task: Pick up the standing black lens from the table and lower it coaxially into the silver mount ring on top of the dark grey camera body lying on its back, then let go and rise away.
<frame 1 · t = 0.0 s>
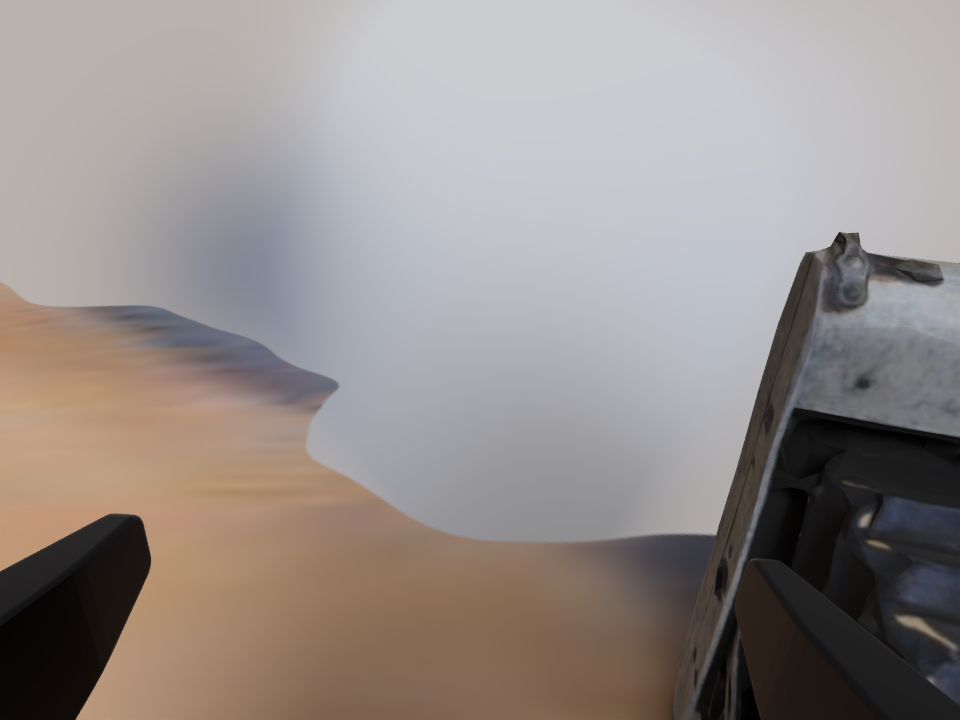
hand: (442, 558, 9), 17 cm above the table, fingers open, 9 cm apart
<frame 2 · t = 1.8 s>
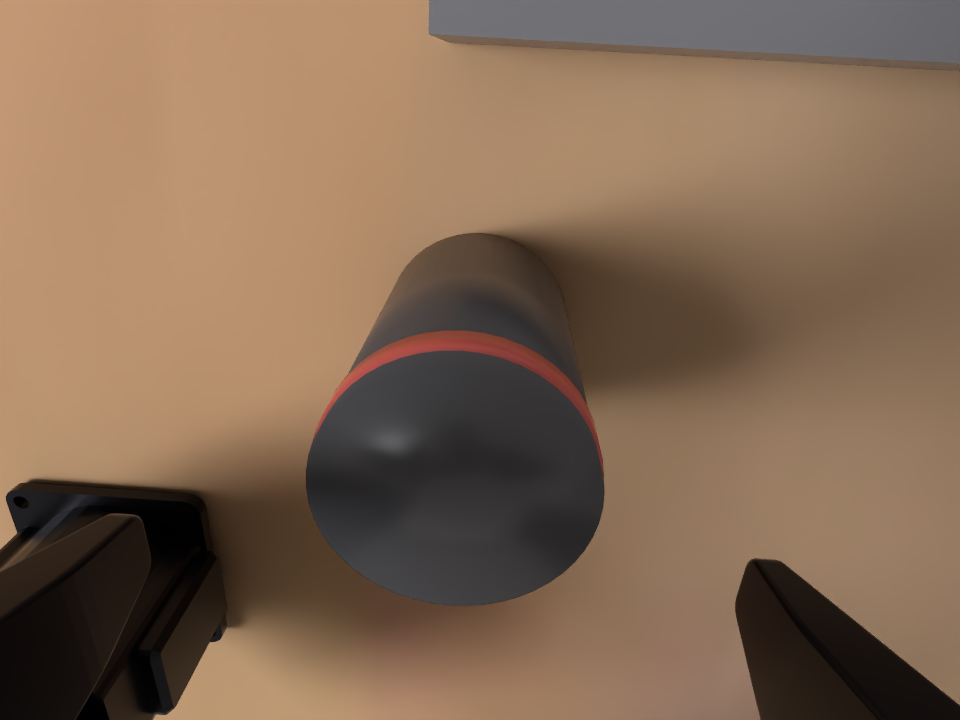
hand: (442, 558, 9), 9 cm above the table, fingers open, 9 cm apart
lens: (477, 320, 18), on the table
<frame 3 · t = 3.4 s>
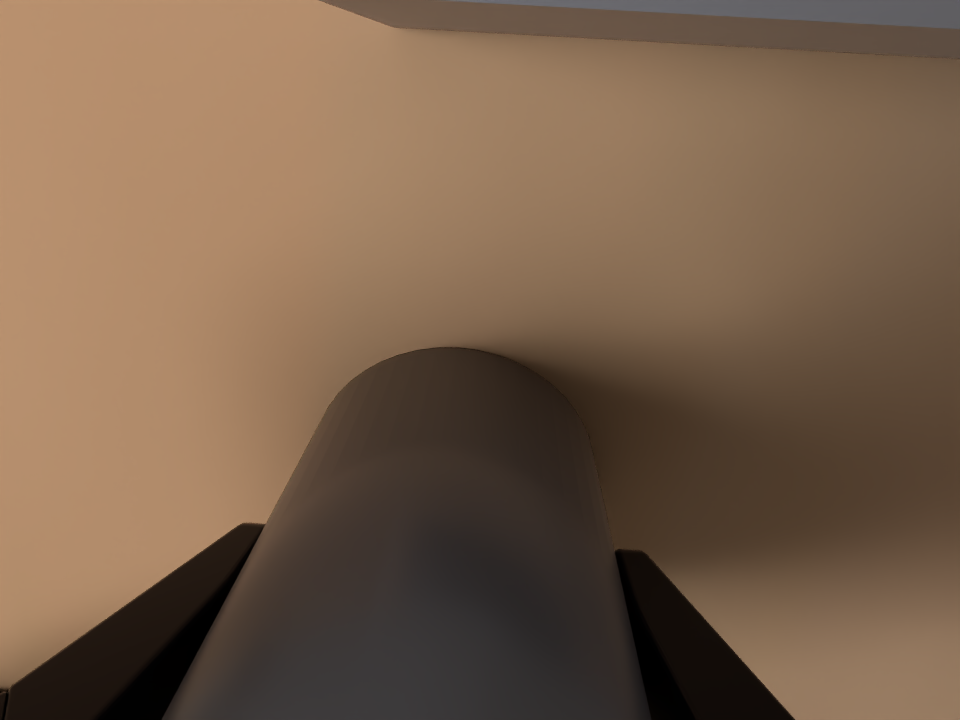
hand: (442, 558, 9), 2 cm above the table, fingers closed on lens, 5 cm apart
lens: (452, 475, 11), on the table, touching gripper
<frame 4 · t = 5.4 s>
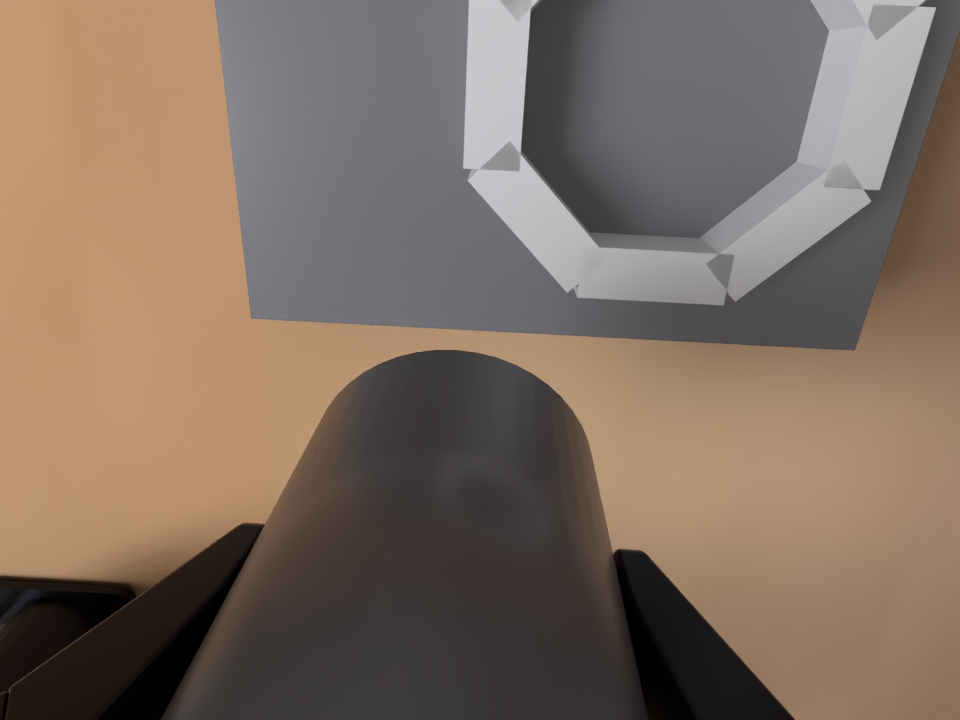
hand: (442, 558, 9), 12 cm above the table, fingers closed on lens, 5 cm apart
camera body: (561, 85, 17), on the table
lens: (451, 477, 11), point 10 cm above the table, touching gripper
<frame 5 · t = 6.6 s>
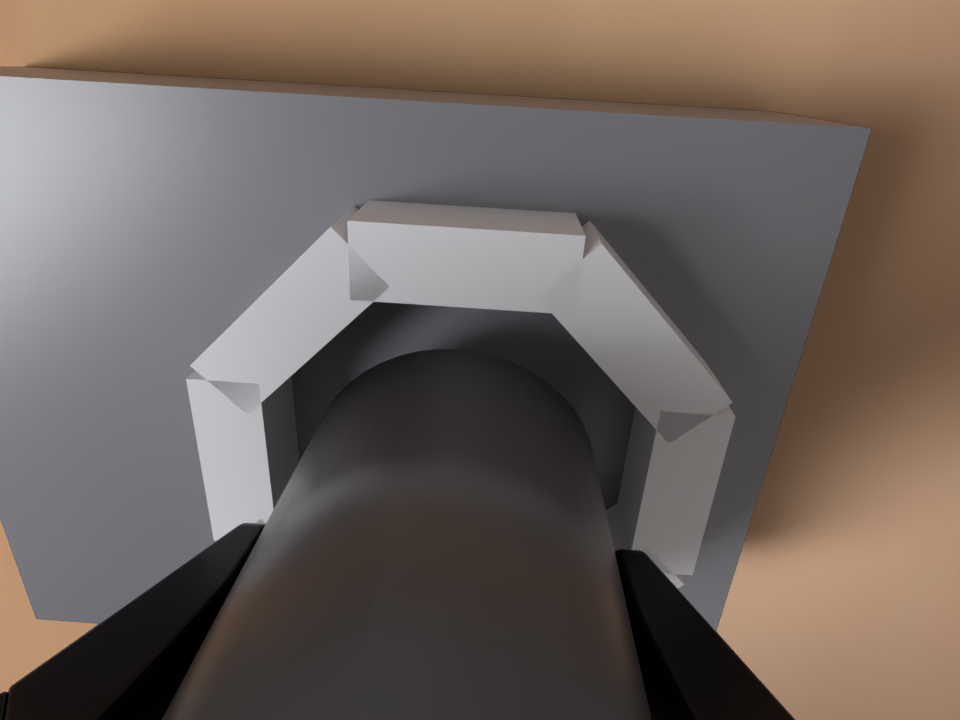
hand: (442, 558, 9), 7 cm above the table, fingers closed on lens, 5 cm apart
camera body: (394, 345, 16), on the table
lens: (452, 477, 11), point 5 cm above the table, touching gripper
when the fingers open (7 cm above the table, at t = 7.4 s): lens stays where it is, resting on camera body.
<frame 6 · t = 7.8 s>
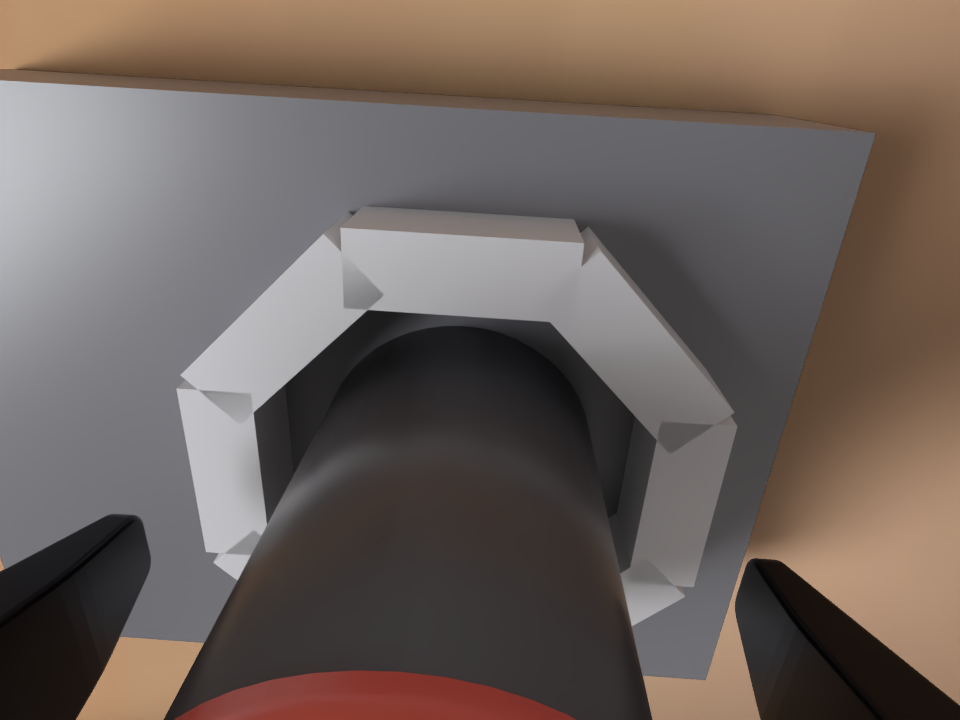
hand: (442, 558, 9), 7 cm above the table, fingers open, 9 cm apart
camera body: (390, 351, 15), on the table
lens: (458, 446, 12), point 4 cm above the table, touching camera body
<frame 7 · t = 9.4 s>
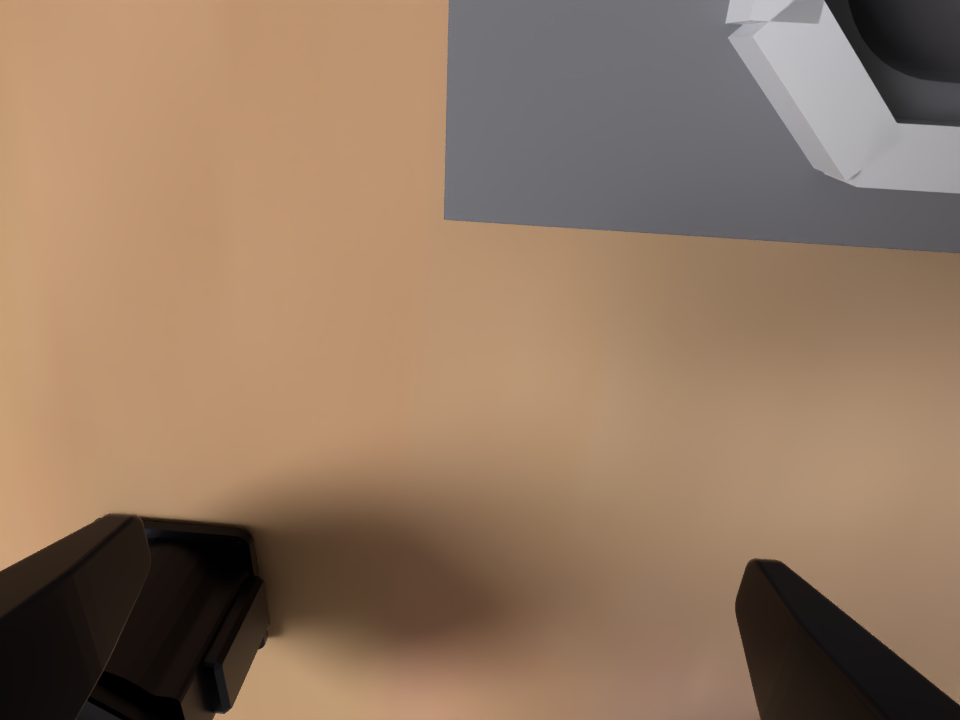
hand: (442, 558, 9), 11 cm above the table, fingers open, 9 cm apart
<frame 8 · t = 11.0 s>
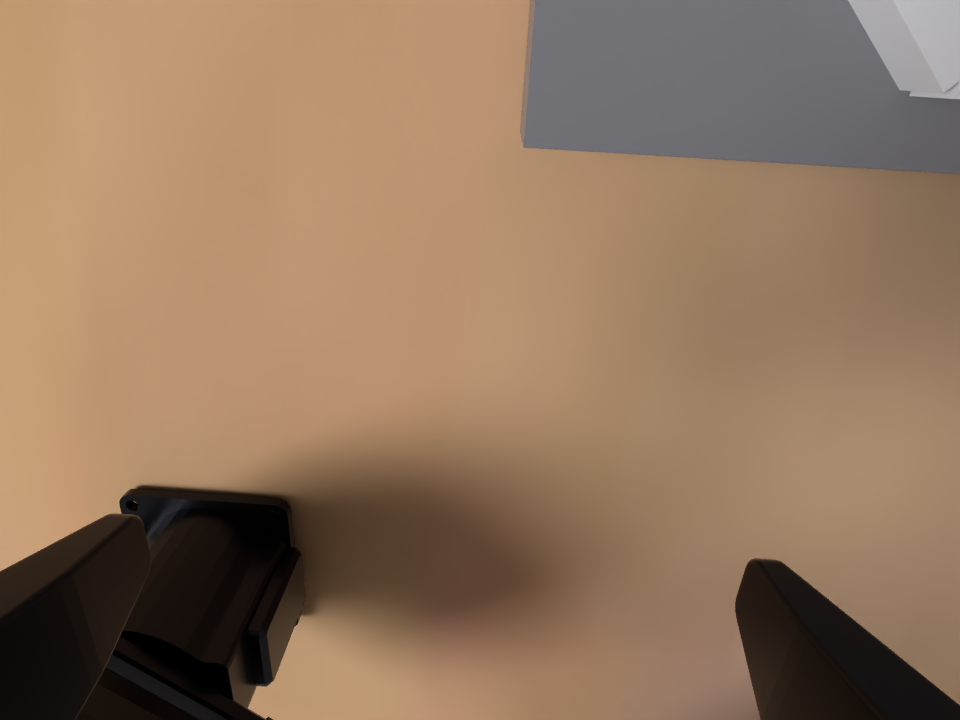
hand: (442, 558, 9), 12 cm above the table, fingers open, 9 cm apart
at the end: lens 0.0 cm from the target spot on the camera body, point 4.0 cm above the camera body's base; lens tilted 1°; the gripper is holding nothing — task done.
